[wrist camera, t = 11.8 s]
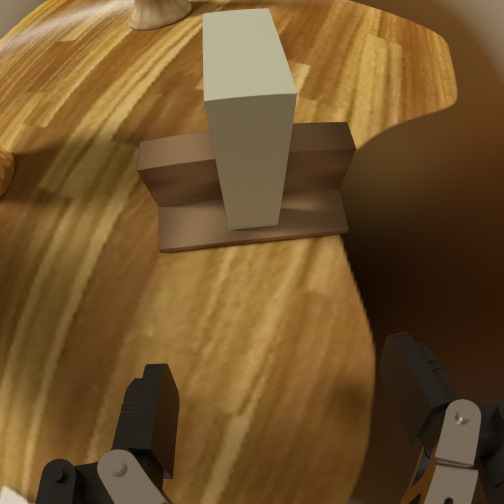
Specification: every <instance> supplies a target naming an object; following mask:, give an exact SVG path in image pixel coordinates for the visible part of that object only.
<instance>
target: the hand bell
mask: <svg viewBox="0 0 504 504" xmlns="http://www.w3.org/2000/svg"><path fill="white" fill-rule="evenodd" d="M191 10H192V5H191V3H190V2H189V1H188V0H135V4H134V9H133V12H132V13H131V14H130V16H129V18H128V22H127V23H128V26H129V27H130V28H131V29H134V30H152V29H157V28H161V27H164V26H167V25H170V24H173V23H175V22H177V21H179V20H181V19H183V18H184V17H186V16H187V15H188V14H189V13H190V12H191Z"/></svg>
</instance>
